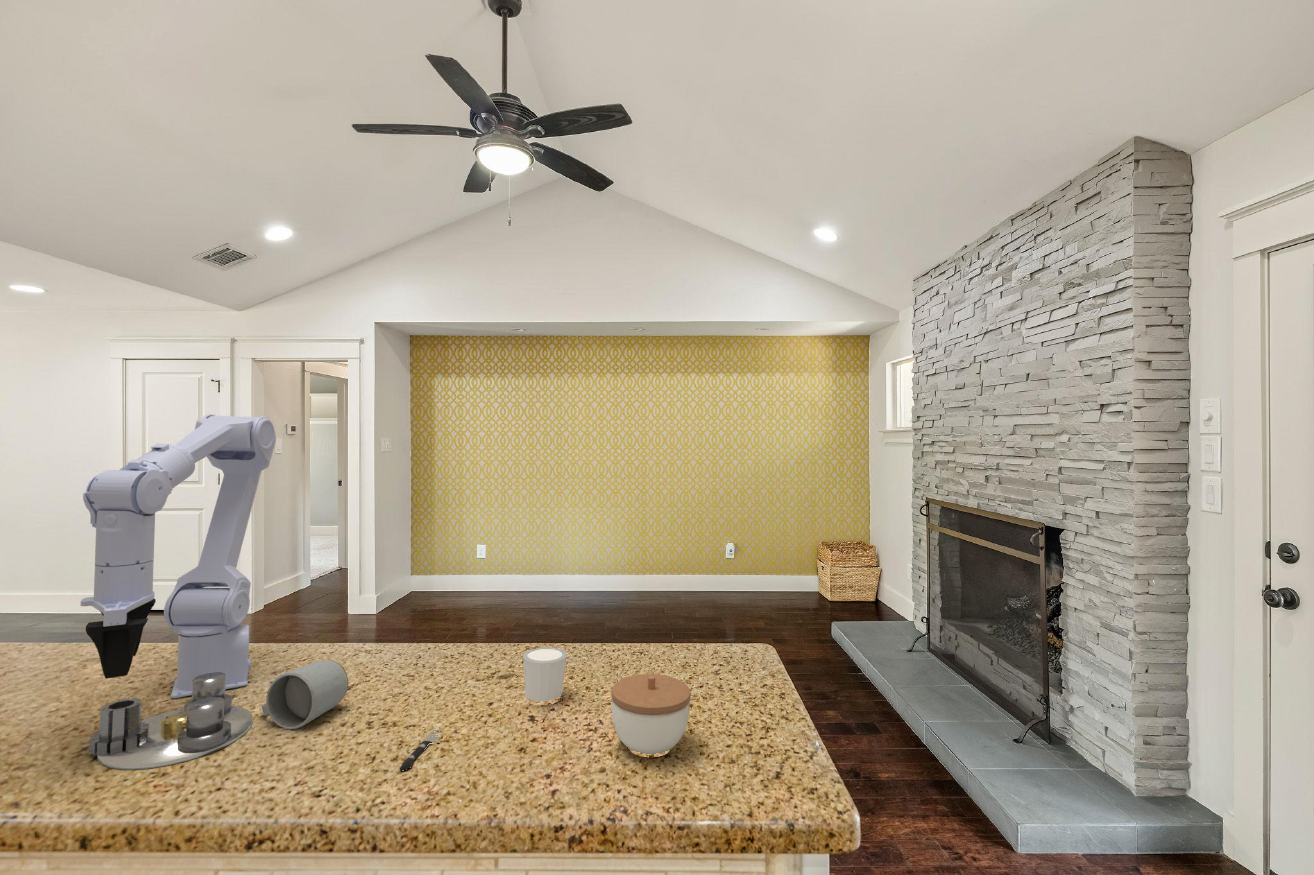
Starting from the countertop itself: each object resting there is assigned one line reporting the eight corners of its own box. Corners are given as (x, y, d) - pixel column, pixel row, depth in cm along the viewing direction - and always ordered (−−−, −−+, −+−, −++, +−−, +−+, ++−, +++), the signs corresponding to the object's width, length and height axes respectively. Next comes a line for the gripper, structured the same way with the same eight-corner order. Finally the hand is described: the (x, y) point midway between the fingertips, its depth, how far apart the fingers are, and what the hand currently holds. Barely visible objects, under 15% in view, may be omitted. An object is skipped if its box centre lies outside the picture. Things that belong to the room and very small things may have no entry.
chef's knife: (477, 708, 91) (458, 705, 91) (478, 701, 91) (459, 698, 91) (420, 777, 72) (396, 774, 72) (421, 768, 72) (398, 765, 72)
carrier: (251, 700, 90) (253, 663, 90) (253, 746, 77) (254, 703, 77) (109, 726, 81) (111, 685, 81) (84, 784, 68) (86, 735, 68)
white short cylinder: (512, 702, 92) (514, 657, 92) (537, 686, 98) (538, 644, 98) (550, 711, 89) (551, 665, 89) (573, 694, 96) (574, 651, 96)
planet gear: (150, 729, 79) (152, 692, 79) (145, 747, 75) (146, 708, 75) (94, 740, 76) (96, 701, 76) (85, 760, 71) (87, 718, 71)
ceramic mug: (352, 706, 89) (353, 655, 89) (312, 732, 81) (313, 676, 81) (289, 700, 90) (290, 650, 91) (244, 726, 82) (245, 670, 82)
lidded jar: (634, 777, 73) (637, 700, 73) (596, 738, 82) (598, 670, 82) (704, 755, 78) (707, 684, 78) (661, 721, 87) (663, 657, 87)
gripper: (93, 554, 81) (90, 654, 81) (69, 577, 69) (65, 693, 69) (160, 550, 85) (157, 645, 85) (149, 570, 73) (145, 680, 73)
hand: (121, 666), depth 77 cm, fingers open, 7 cm apart
